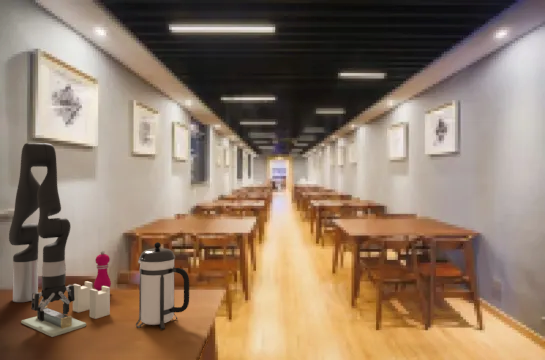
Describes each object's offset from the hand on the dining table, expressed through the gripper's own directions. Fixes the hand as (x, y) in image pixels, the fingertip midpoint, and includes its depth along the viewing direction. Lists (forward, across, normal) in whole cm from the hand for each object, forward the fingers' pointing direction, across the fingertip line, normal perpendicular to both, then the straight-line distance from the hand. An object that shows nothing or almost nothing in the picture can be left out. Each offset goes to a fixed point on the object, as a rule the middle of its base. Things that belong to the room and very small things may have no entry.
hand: (53, 317), depth 142 cm
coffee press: (+3, -23, +31) cm, 39 cm away
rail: (+1, 0, 0) cm, 1 cm away
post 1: (+3, -15, -7) cm, 17 cm away
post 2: (+3, -15, +5) cm, 16 cm away
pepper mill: (+3, -32, -20) cm, 38 cm away
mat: (+3, 0, 0) cm, 3 cm away
